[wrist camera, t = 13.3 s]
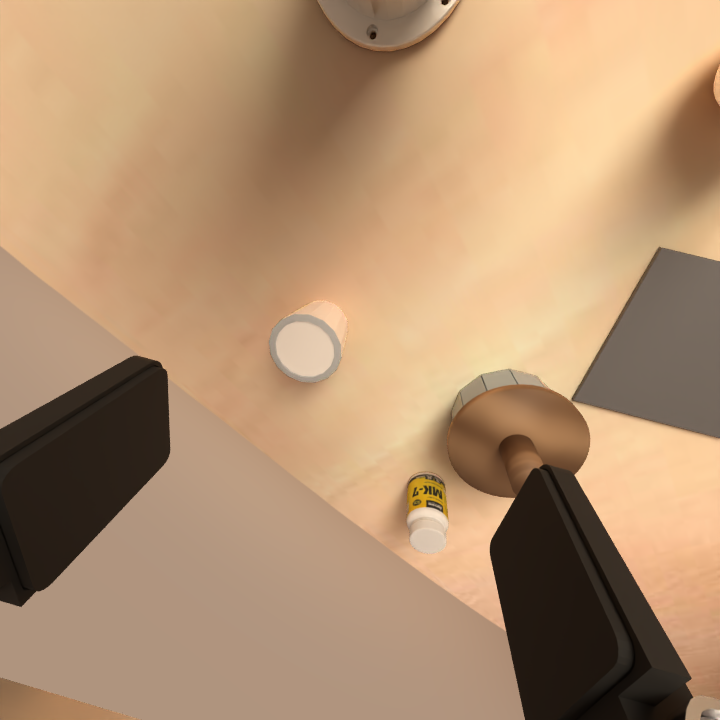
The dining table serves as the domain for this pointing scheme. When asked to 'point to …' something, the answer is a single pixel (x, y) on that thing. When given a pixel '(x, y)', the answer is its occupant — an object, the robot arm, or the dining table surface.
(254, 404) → the dining table surface
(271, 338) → the white cup
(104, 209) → the dining table surface
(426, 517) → the supplement bottle
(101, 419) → the robot arm
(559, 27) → the dining table surface
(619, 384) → the mat
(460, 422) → the lid
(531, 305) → the dining table surface
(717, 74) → the air blower
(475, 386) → the bowl
